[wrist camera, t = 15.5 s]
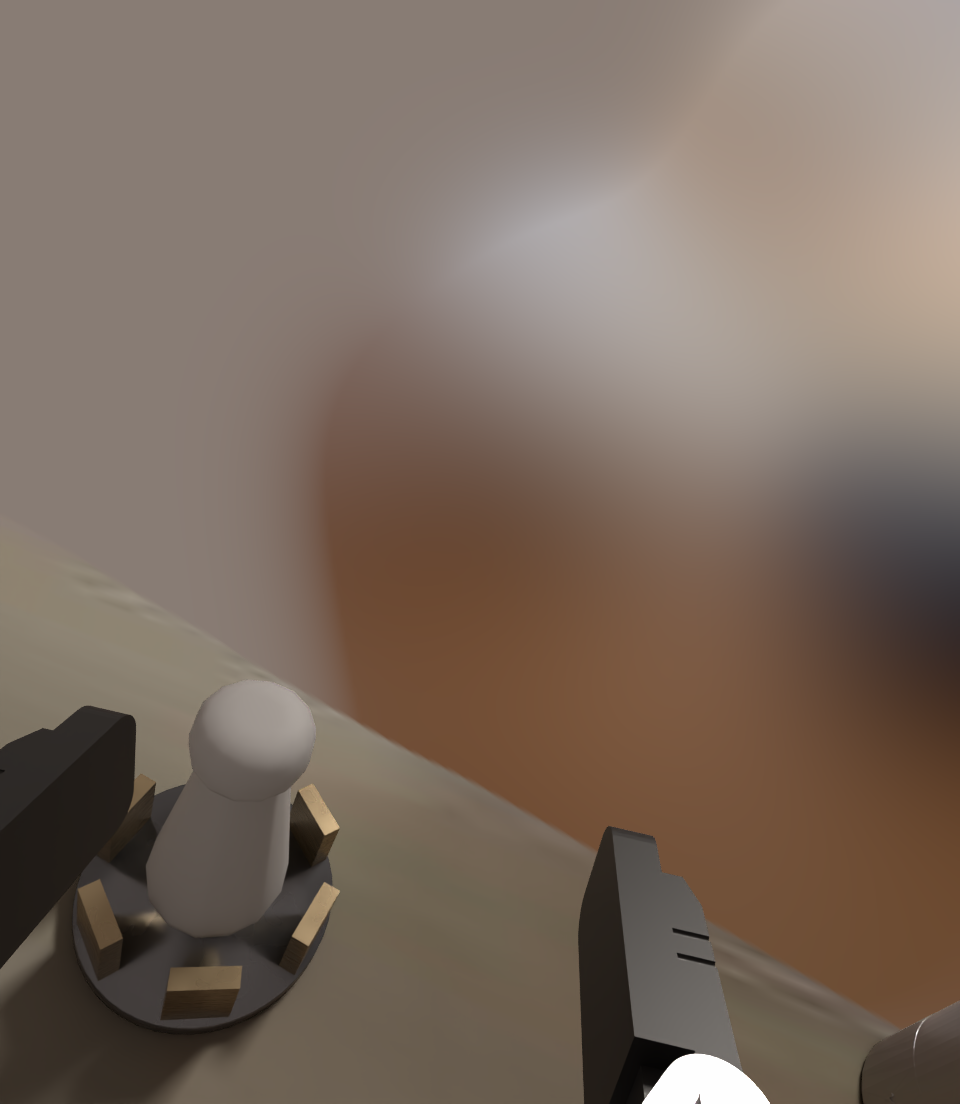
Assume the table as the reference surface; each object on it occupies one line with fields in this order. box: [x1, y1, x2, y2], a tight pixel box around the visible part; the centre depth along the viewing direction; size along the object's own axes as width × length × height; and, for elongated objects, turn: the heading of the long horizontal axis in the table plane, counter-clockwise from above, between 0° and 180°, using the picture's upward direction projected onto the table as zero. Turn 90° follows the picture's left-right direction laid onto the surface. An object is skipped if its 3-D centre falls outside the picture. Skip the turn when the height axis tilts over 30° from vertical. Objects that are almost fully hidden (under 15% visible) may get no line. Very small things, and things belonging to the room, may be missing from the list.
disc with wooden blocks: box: [72, 774, 340, 1034], centre depth 32 cm, size 11×11×4 cm
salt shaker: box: [146, 680, 316, 938], centre depth 28 cm, size 6×6×13 cm
